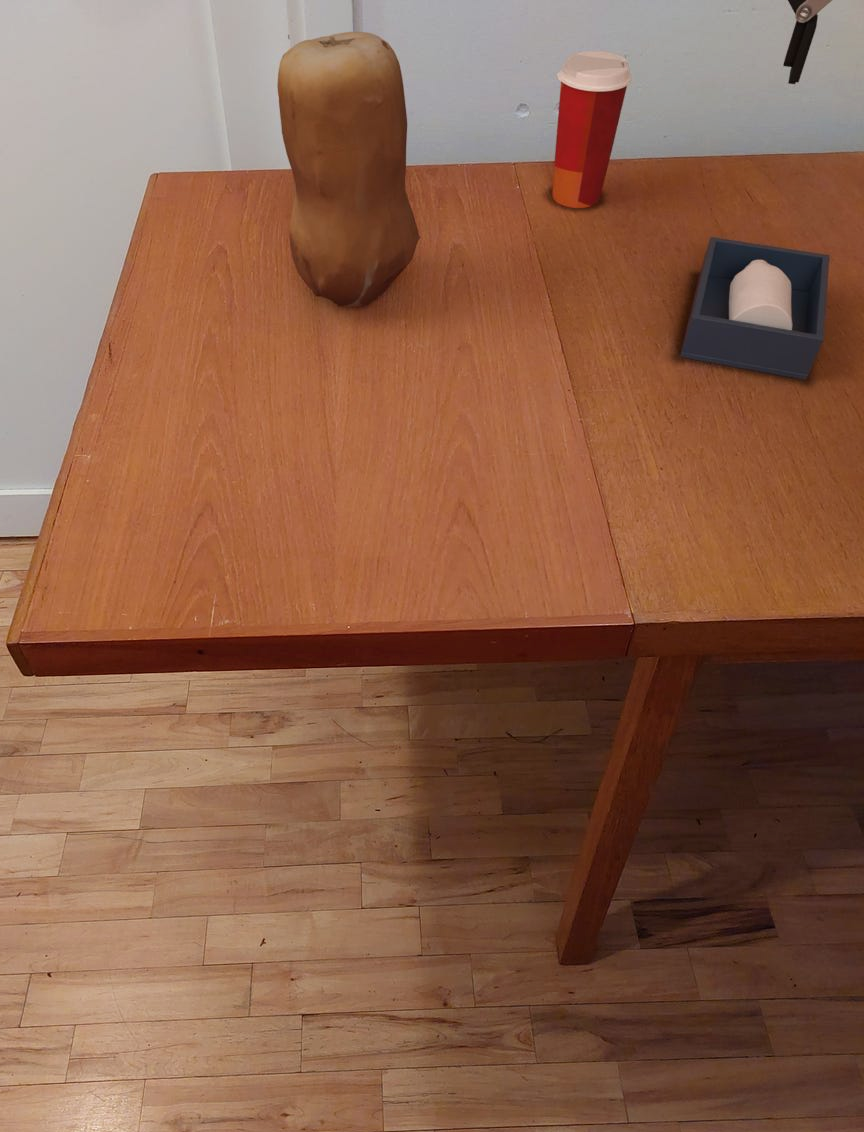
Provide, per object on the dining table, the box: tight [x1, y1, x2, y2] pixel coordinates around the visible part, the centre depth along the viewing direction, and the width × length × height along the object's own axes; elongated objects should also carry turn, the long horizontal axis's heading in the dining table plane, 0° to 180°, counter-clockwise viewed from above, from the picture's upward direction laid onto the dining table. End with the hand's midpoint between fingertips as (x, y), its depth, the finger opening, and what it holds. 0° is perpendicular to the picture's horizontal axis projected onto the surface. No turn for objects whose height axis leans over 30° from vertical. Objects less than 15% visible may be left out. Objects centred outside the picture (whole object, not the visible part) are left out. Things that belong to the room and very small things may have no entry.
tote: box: [679, 236, 831, 381], centre depth 93 cm, size 16×12×5 cm
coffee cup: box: [552, 50, 633, 209], centre depth 106 cm, size 8×8×15 cm
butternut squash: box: [276, 31, 421, 308], centre depth 89 cm, size 14×13×25 cm
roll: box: [729, 260, 792, 330], centre depth 92 cm, size 6×12×6 cm, turn 166°
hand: (859, 85), depth 68 cm, fingers open, 9 cm apart
